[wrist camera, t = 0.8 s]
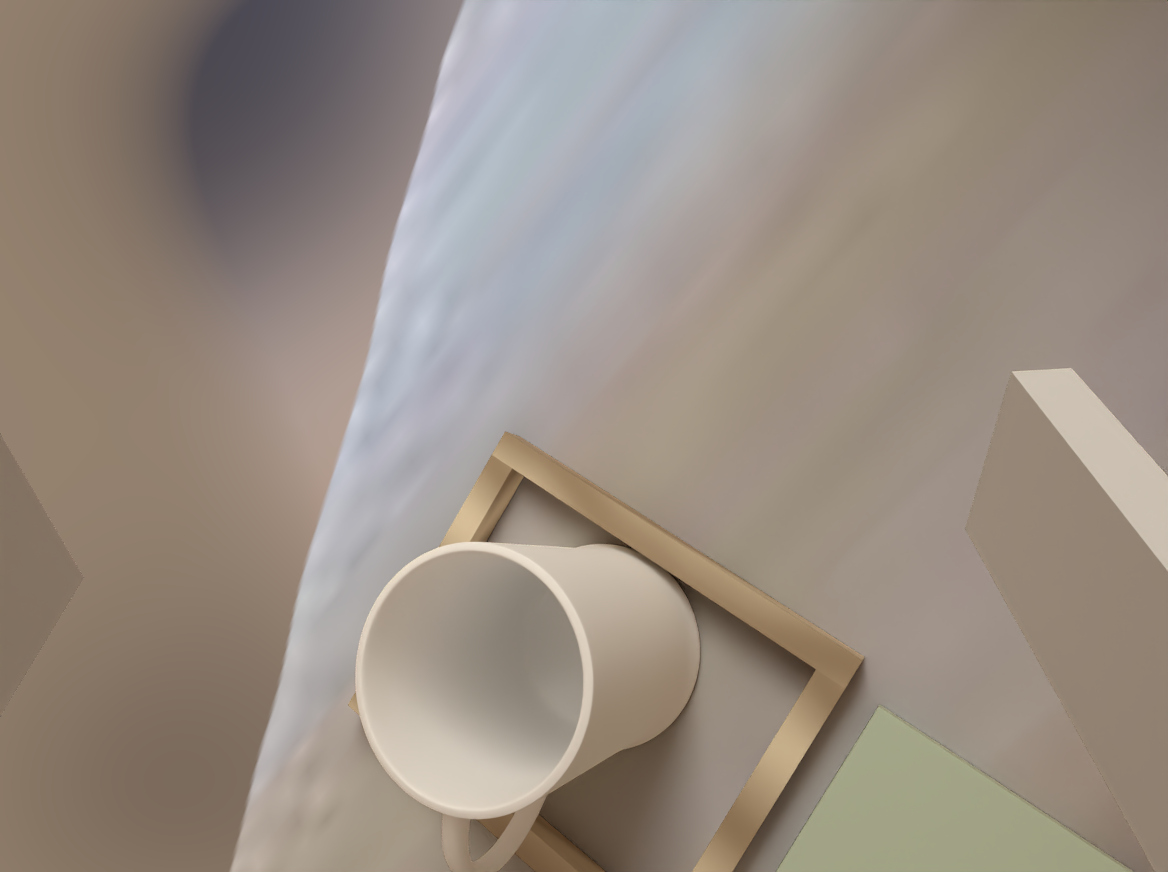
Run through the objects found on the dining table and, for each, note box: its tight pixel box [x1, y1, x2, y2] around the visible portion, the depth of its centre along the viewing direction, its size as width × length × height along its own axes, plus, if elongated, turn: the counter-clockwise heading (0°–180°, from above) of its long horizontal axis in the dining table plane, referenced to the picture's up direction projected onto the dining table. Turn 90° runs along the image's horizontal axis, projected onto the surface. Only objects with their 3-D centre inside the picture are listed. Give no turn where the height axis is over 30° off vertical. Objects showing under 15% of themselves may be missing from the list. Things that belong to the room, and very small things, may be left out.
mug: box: [355, 542, 700, 872], centre depth 31 cm, size 12×8×12 cm
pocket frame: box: [348, 432, 864, 872], centre depth 36 cm, size 14×17×2 cm
